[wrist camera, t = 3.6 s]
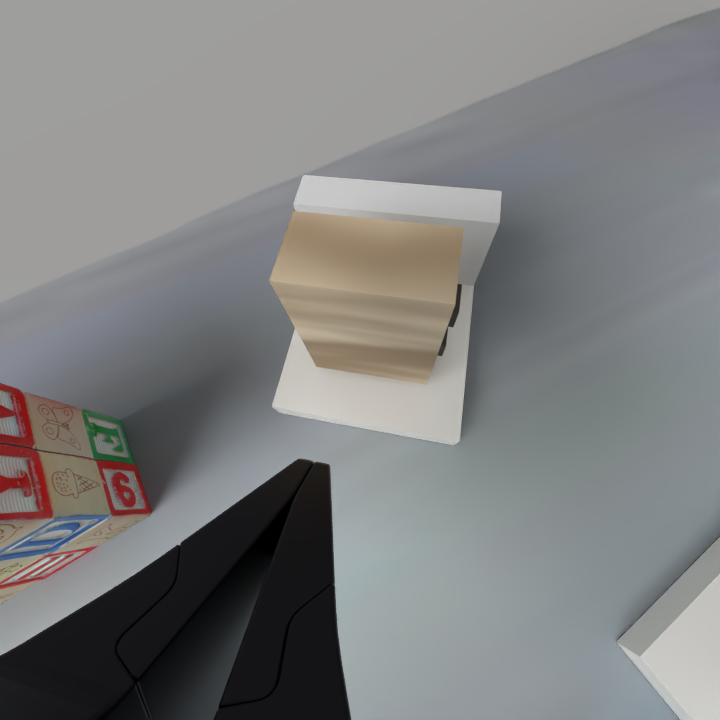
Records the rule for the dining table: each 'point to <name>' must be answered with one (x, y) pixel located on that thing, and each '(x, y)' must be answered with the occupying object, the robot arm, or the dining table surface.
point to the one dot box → (683, 641)
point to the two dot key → (370, 292)
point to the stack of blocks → (60, 486)
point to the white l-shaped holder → (447, 380)
